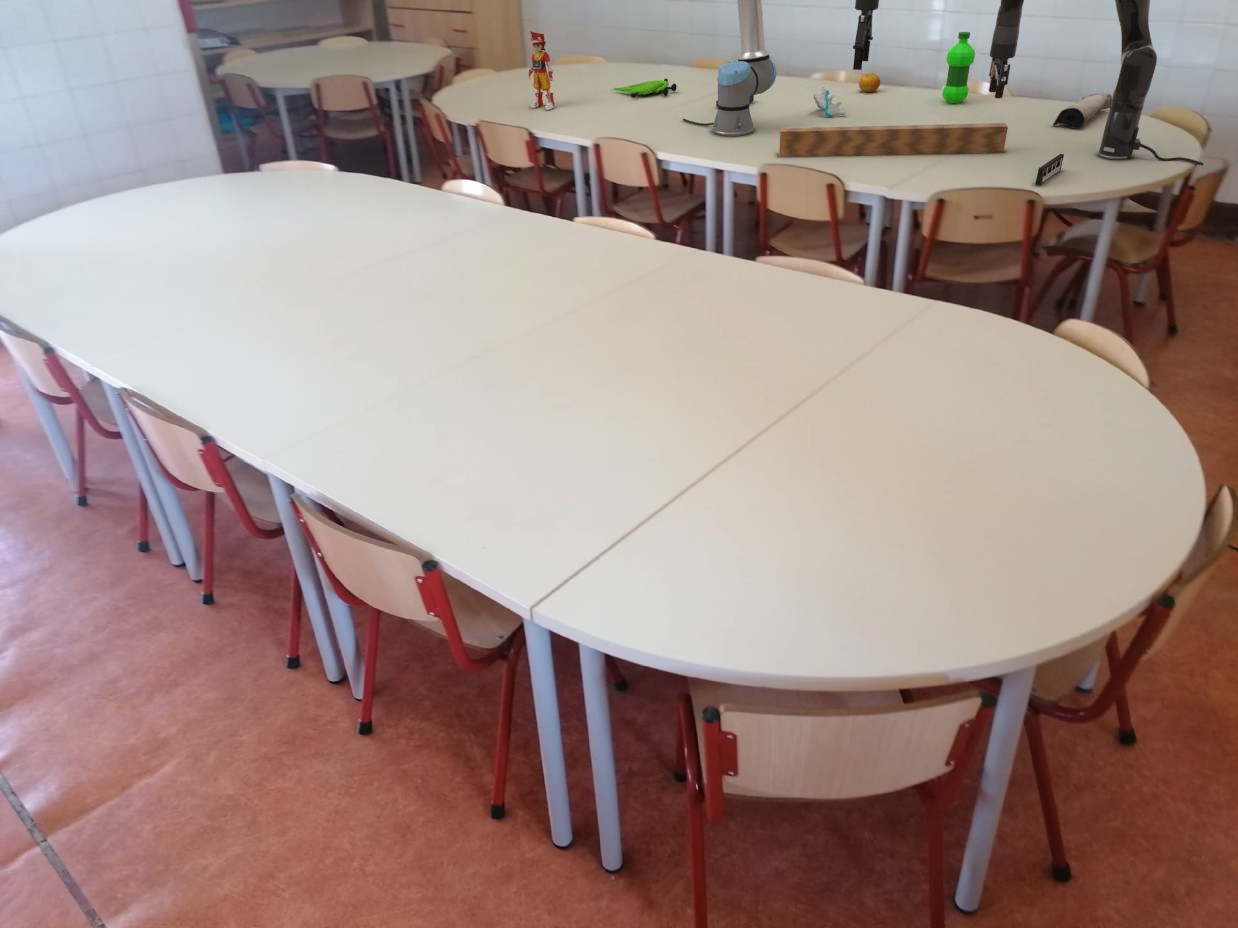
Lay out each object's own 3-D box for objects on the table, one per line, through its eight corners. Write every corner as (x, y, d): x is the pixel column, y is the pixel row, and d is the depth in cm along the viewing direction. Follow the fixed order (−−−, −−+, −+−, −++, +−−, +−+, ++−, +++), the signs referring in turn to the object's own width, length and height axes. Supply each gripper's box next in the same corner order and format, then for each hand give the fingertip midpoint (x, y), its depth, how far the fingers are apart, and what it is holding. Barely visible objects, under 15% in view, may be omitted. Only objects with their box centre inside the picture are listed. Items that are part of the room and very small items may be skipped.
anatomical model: (809, 86, 352) (834, 80, 351) (812, 113, 358) (836, 106, 357) (818, 95, 340) (845, 88, 339) (822, 123, 346) (847, 116, 345)
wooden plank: (779, 157, 307) (780, 131, 302) (778, 153, 311) (780, 128, 306) (1003, 152, 298) (1008, 126, 293) (1000, 149, 302) (1005, 123, 297)
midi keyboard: (1039, 185, 269) (1043, 168, 266) (1035, 184, 270) (1038, 168, 267) (1060, 170, 279) (1064, 154, 277) (1056, 169, 280) (1060, 153, 277)
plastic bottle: (973, 101, 354) (984, 32, 339) (955, 106, 349) (966, 36, 335) (952, 97, 361) (962, 29, 346) (934, 102, 356) (944, 33, 342)
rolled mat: (1079, 98, 337) (1104, 81, 329) (1092, 118, 337) (1118, 102, 329) (1048, 120, 320) (1074, 102, 312) (1063, 141, 320) (1088, 124, 312)
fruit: (854, 84, 373) (866, 66, 369) (856, 88, 380) (868, 70, 377) (870, 95, 371) (882, 77, 368) (872, 98, 379) (884, 81, 376)
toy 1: (525, 109, 381) (517, 32, 364) (534, 104, 388) (527, 28, 371) (550, 110, 377) (543, 32, 360) (559, 105, 384) (553, 28, 367)
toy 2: (686, 85, 398) (631, 84, 414) (685, 72, 395) (629, 72, 411) (651, 104, 381) (596, 103, 397) (650, 92, 378) (594, 91, 394)
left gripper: (873, 2, 284) (865, 73, 296) (885, -10, 302) (877, 58, 315) (849, 2, 286) (842, 73, 298) (862, -10, 305) (856, 57, 317)
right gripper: (1023, 44, 275) (1012, 100, 284) (1011, 36, 286) (1002, 89, 296) (997, 45, 276) (988, 100, 285) (987, 37, 287) (978, 90, 297)
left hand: (860, 65), depth 306 cm, fingers open, 13 cm apart
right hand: (995, 95), depth 290 cm, fingers open, 8 cm apart
